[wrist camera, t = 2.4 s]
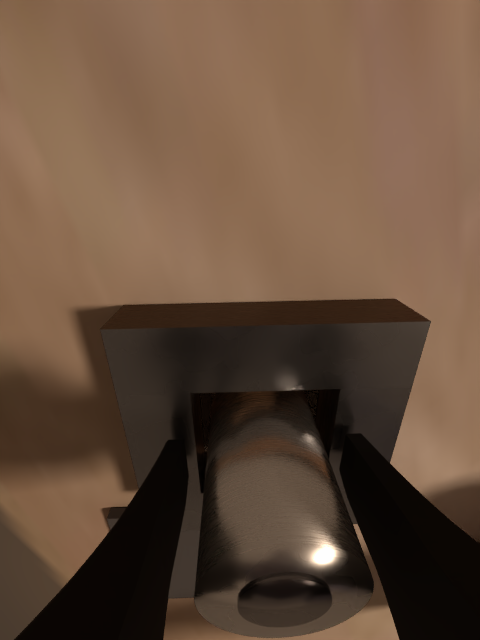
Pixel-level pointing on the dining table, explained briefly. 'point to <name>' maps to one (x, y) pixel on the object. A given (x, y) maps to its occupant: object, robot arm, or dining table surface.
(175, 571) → the rubber mat
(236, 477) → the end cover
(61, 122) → the dining table surface
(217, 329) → the block
